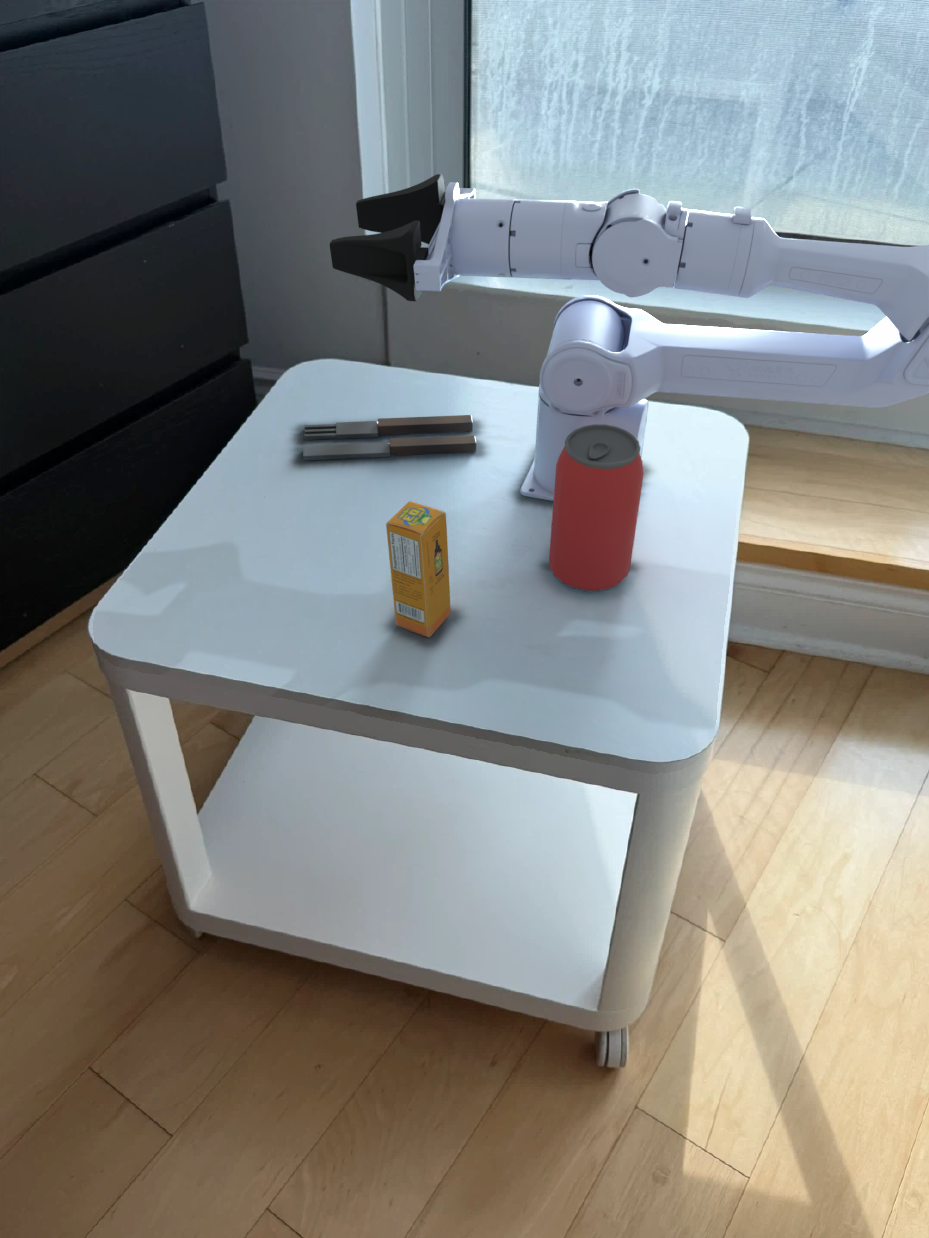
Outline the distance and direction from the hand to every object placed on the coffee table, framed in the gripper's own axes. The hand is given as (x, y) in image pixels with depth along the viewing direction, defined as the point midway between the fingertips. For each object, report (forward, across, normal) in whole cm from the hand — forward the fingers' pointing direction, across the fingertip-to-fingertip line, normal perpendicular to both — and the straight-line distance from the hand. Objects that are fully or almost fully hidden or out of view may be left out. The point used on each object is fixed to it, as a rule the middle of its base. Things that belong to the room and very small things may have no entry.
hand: (345, 233), depth 85 cm
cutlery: (-1, -2, +21) cm, 21 cm away
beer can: (-21, +13, +22) cm, 33 cm away
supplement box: (-9, +22, +21) cm, 32 cm away
